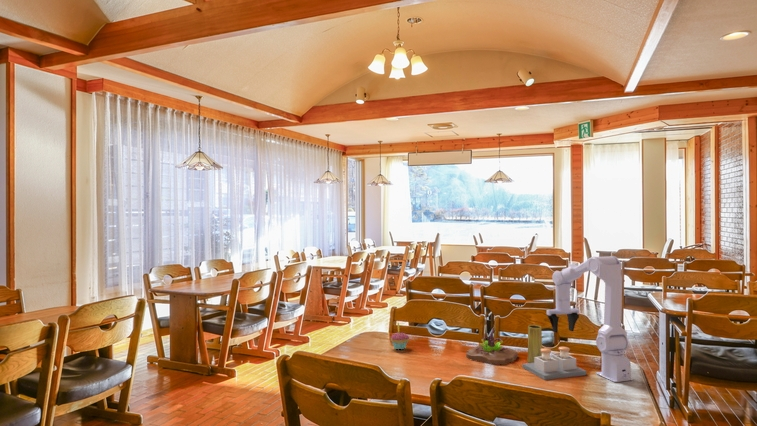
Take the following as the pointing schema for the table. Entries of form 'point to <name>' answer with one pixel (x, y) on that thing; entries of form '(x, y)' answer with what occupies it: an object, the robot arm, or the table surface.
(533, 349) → the vase
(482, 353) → the plant
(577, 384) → the table surface
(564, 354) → the knob
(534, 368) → the panel
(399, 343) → the cupcake
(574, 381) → the table surface
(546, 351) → the knob
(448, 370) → the table surface
